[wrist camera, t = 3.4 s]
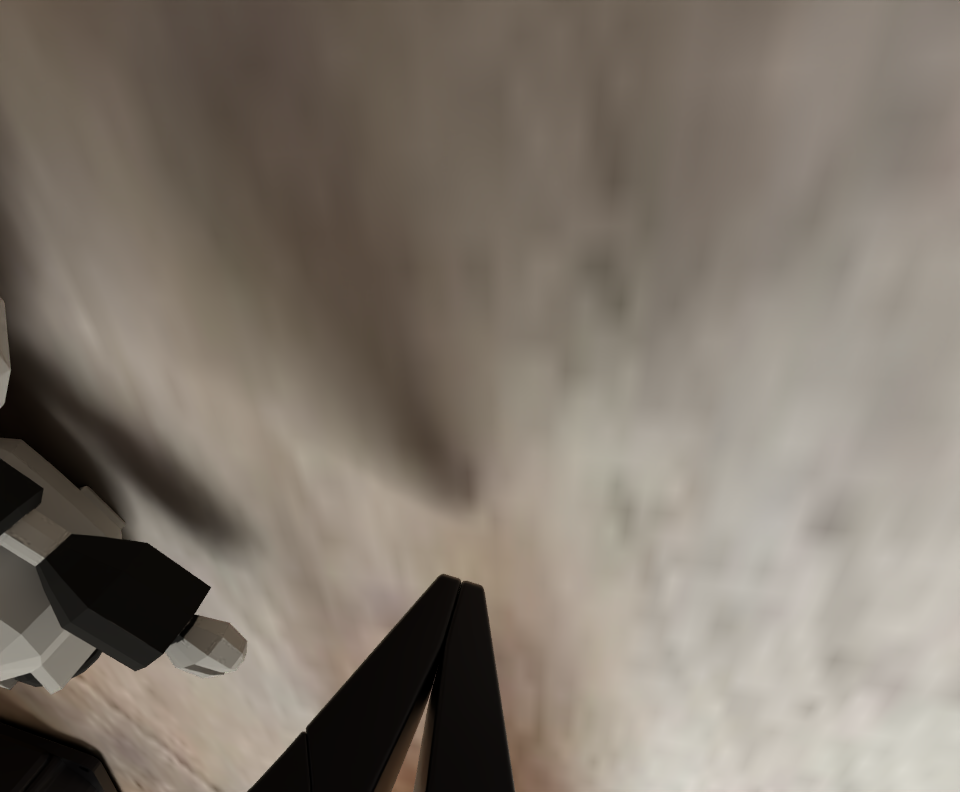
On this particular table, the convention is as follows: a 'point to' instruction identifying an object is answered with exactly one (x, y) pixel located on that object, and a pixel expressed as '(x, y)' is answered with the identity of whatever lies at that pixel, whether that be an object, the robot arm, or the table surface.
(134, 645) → the robot toy
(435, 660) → the robot arm
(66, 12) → the table surface
